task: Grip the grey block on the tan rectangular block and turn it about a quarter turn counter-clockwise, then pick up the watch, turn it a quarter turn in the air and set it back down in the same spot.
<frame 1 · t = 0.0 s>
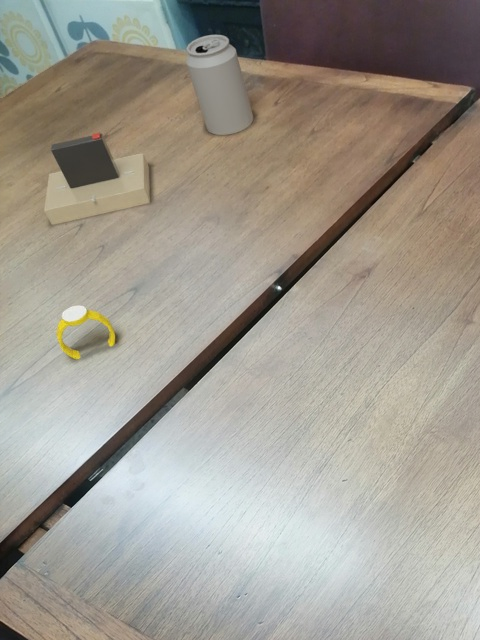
watch: (97, 355, 81), on the table
can: (232, 129, 109), on the table
grey block: (85, 160, 96), point 6 cm above the table, hinge at 0.0°
tan rectangular block: (104, 200, 100), on the table
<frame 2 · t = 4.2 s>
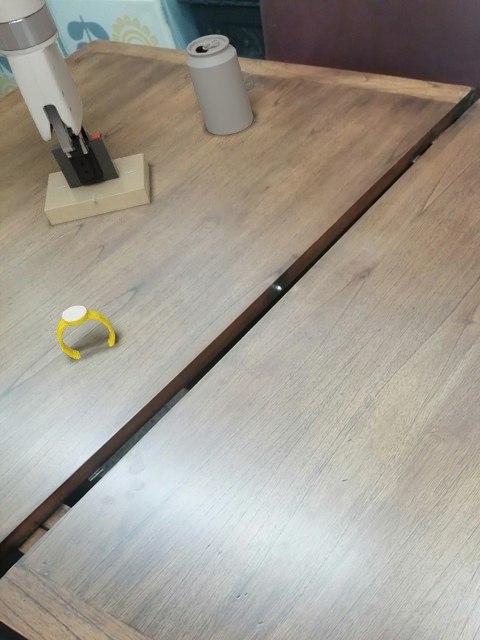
hand: (92, 175, 97), 4 cm above the table, tool pointing down, fingers closed on grey block
grey block: (85, 160, 96), point 6 cm above the table, hinge at 0.0°, touching gripper
everything else where it was.
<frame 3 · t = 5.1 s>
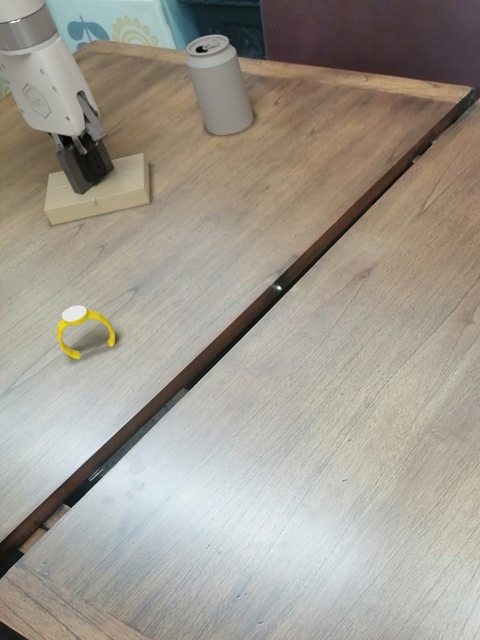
hand: (92, 175, 97), 4 cm above the table, tool pointing down, fingers closed on grey block
grey block: (85, 160, 96), point 6 cm above the table, hinge at 50.3°, touching gripper
everything else where it was.
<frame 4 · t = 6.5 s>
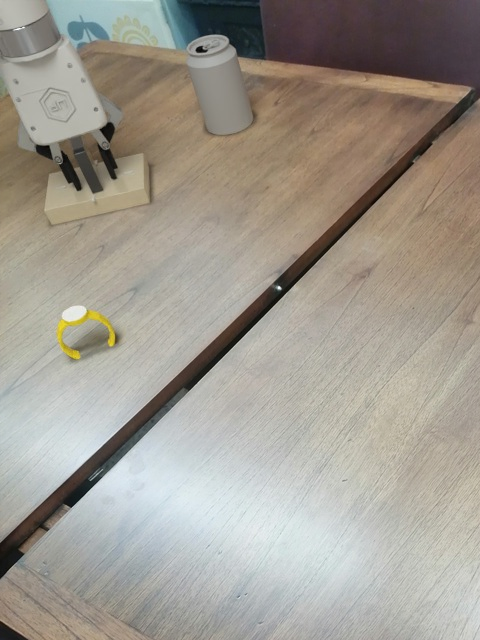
hand: (95, 178, 98), 3 cm above the table, tool pointing down, fingers open, 4 cm apart
grey block: (85, 160, 96), point 6 cm above the table, hinge at 99.5°
everything else where it was.
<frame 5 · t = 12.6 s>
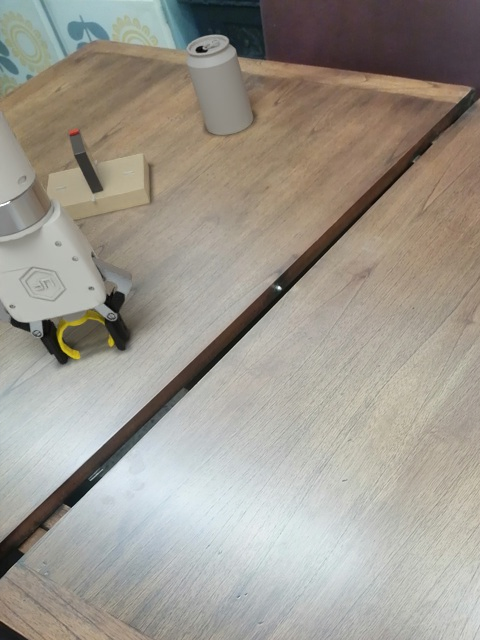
hand: (93, 347, 80), 1 cm above the table, tool pointing down, fingers closed on watch, 6 cm apart
watch: (97, 355, 81), on the table, touching gripper
everything else where it was.
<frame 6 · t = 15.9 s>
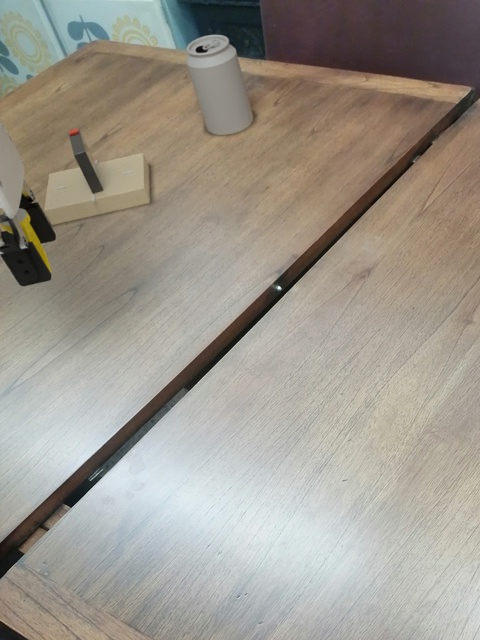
hand: (38, 260, 70), 13 cm above the table, tool pointing down, fingers closed on watch, 6 cm apart
watch: (44, 270, 71), point 12 cm above the table, touching gripper
everything else where it was.
when the fingers open (1 cm above the table, at t = 19.3 s): watch stays where it is, on the table.
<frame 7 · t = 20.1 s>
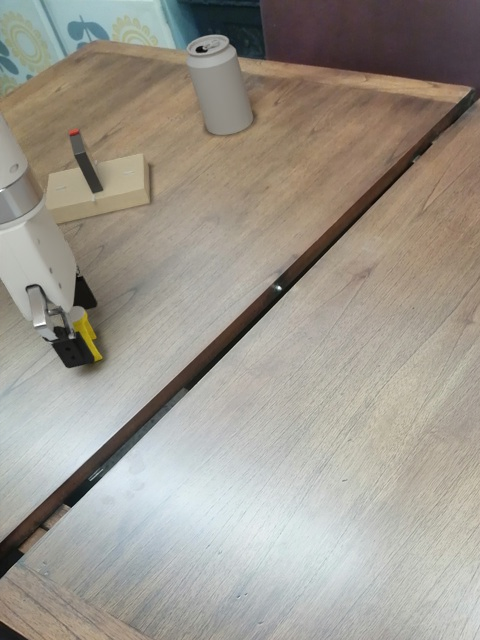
hand: (83, 335, 79), 3 cm above the table, tool pointing down, fingers open, 9 cm apart
watch: (97, 355, 81), on the table
everything else where it was.
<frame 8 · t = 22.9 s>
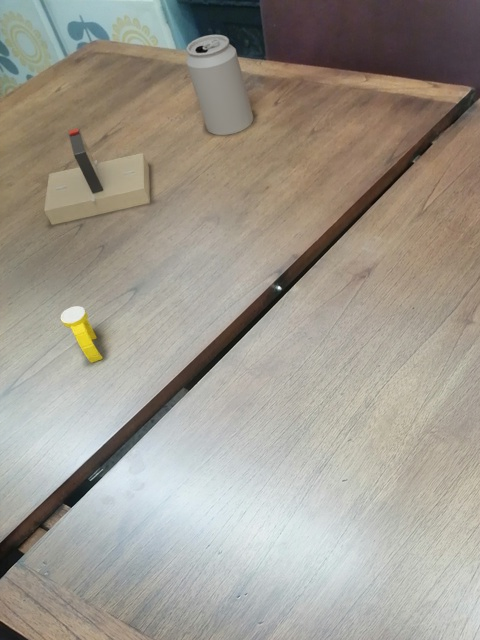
nothing on the table moved.
at the end: grey block at +100° (first picture: +0°); watch inside the target area (0.1 cm from its centre), on the table; watch tilted 0° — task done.
